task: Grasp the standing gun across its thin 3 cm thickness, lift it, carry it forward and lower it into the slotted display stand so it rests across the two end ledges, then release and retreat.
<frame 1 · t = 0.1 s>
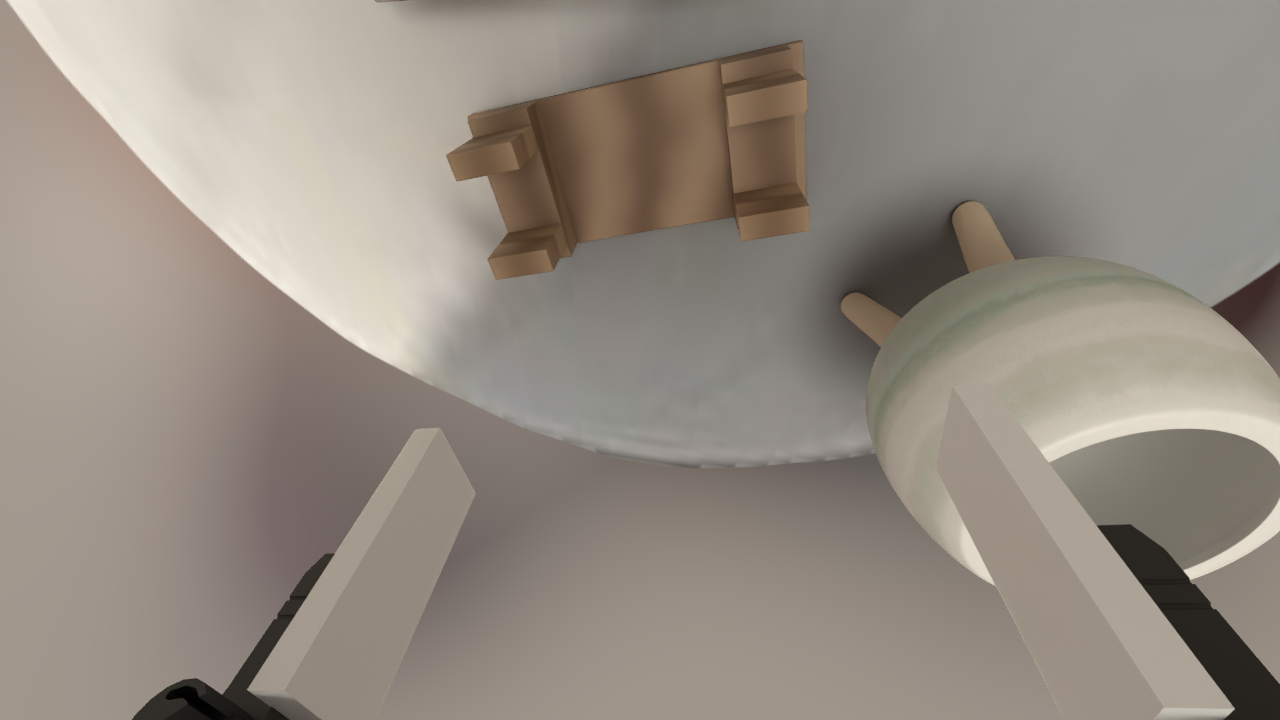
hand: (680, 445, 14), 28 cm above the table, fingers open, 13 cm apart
planter: (925, 279, 40), on the table
display stand: (641, 157, 36), on the table
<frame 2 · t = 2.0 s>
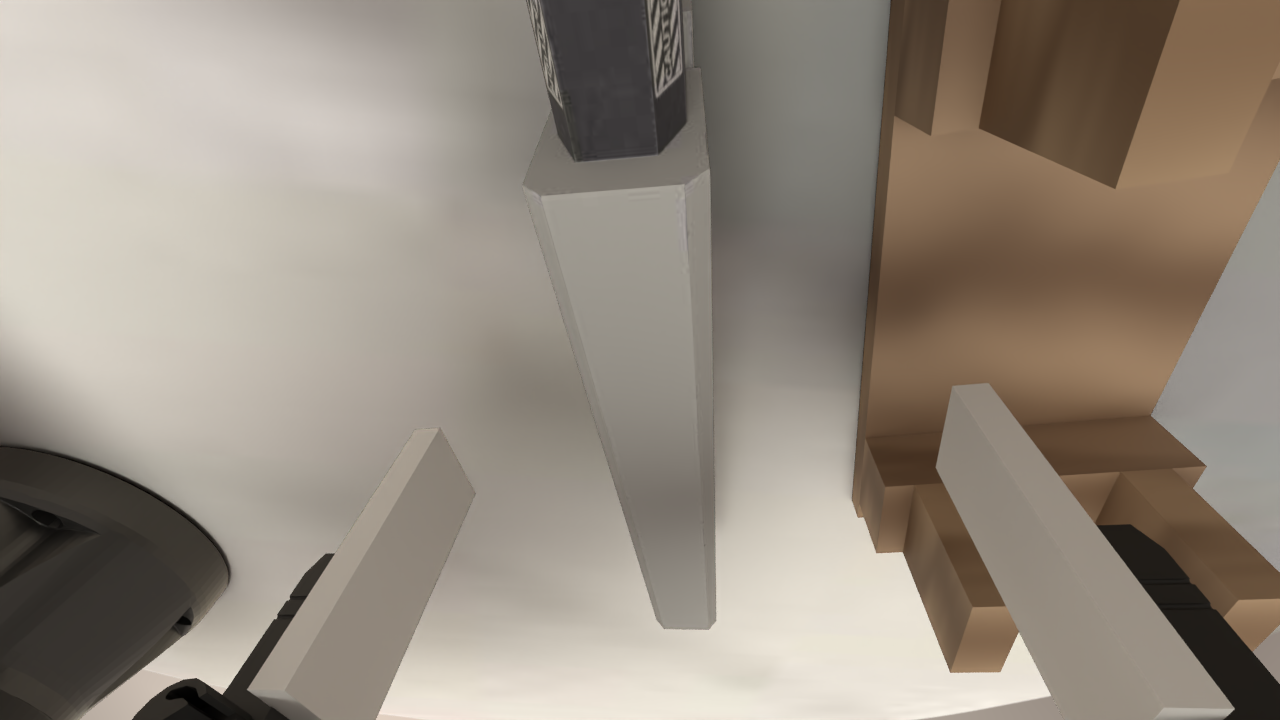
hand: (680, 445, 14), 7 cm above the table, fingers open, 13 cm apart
gun: (670, 314, 19), on the table
display stand: (1025, 275, 17), on the table
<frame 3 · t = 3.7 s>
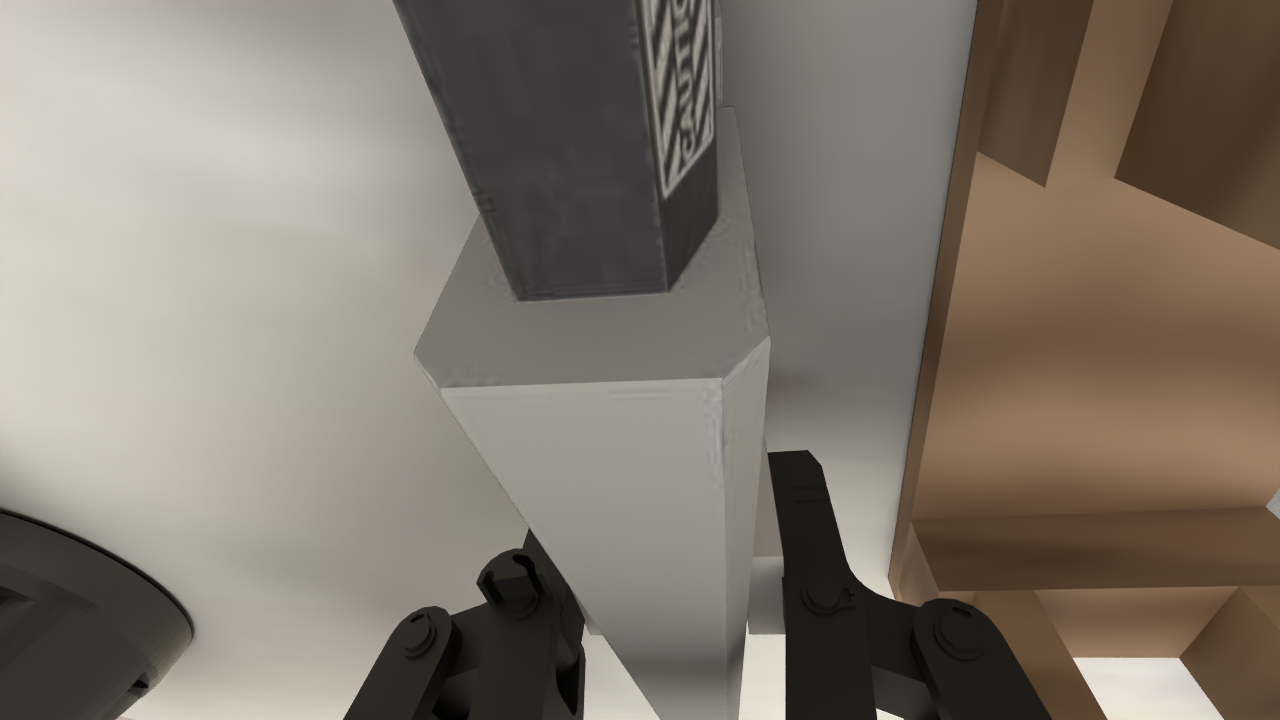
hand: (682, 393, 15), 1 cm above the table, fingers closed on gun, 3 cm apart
gun: (683, 378, 16), on the table, touching gripper
display stand: (1121, 341, 14), on the table
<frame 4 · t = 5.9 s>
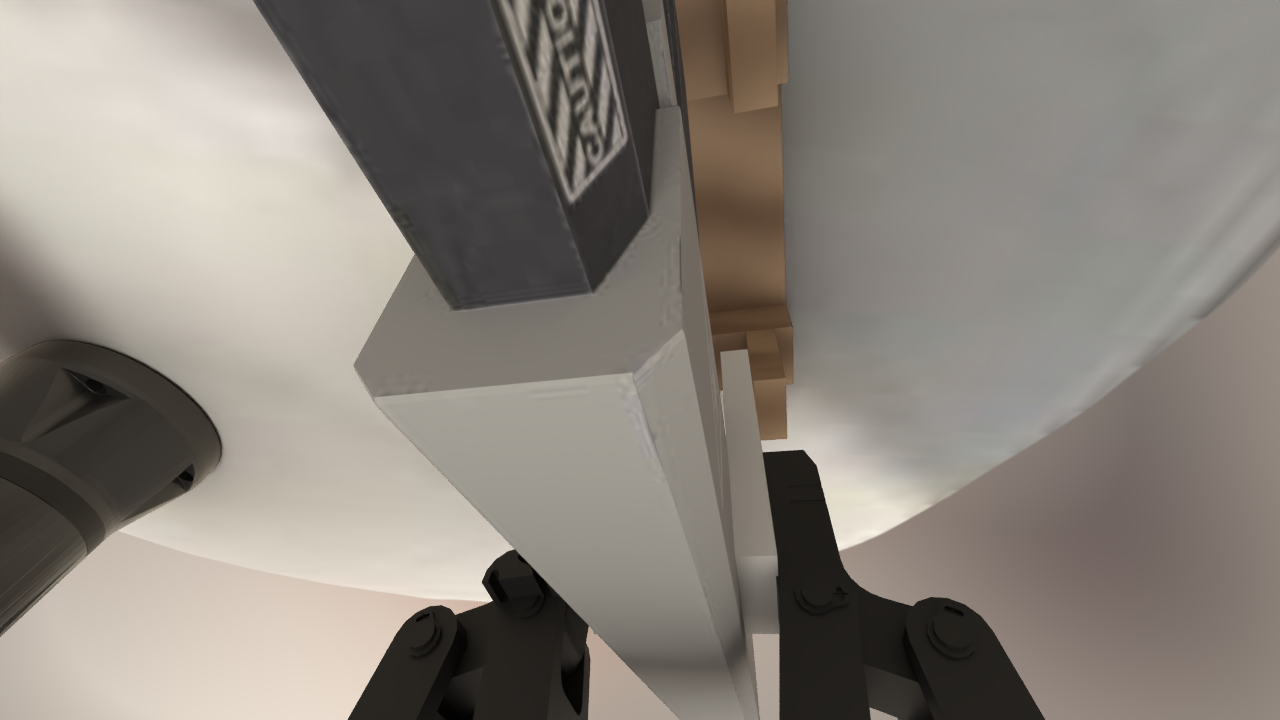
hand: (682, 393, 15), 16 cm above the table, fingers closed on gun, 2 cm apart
gun: (683, 377, 16), point 15 cm above the table, touching gripper
display stand: (688, 211, 28), on the table
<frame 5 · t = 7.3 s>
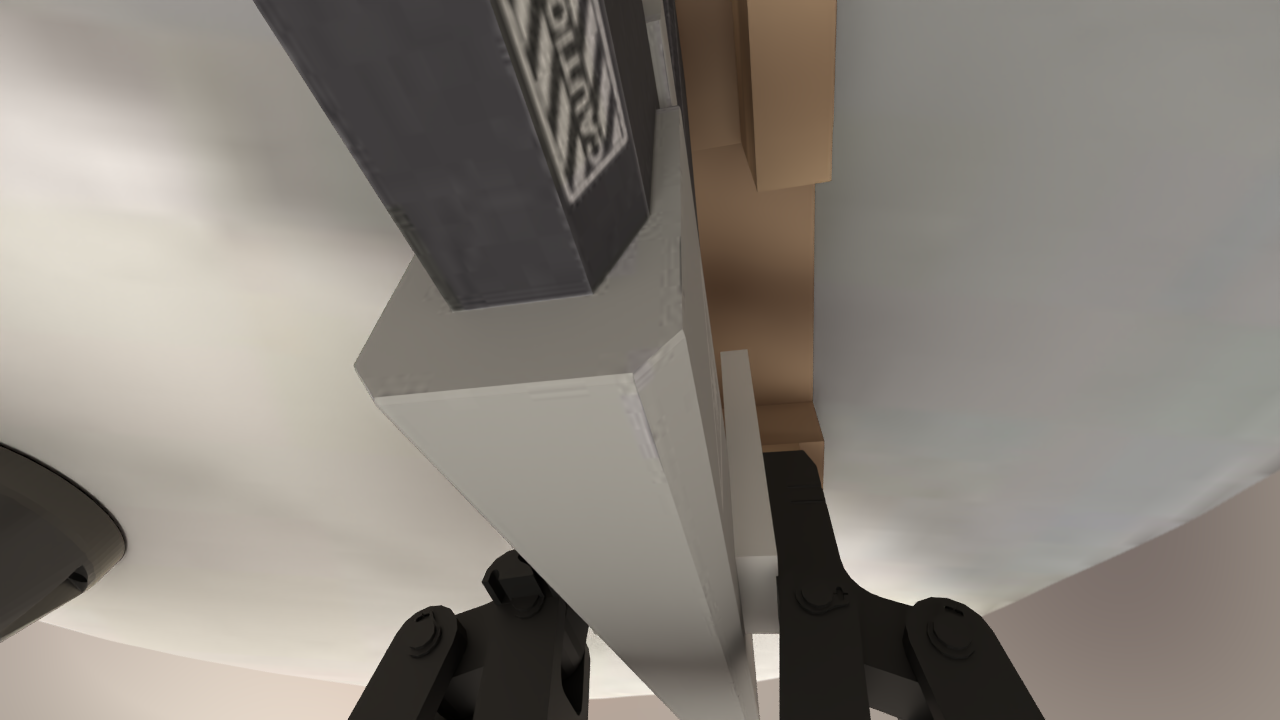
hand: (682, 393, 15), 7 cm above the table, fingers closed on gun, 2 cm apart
gun: (683, 377, 16), point 6 cm above the table, touching gripper
display stand: (683, 285, 21), on the table
when the fingers open (5 cm above the table, at t = 8.2 s): gun drops 1 cm, resting on display stand.
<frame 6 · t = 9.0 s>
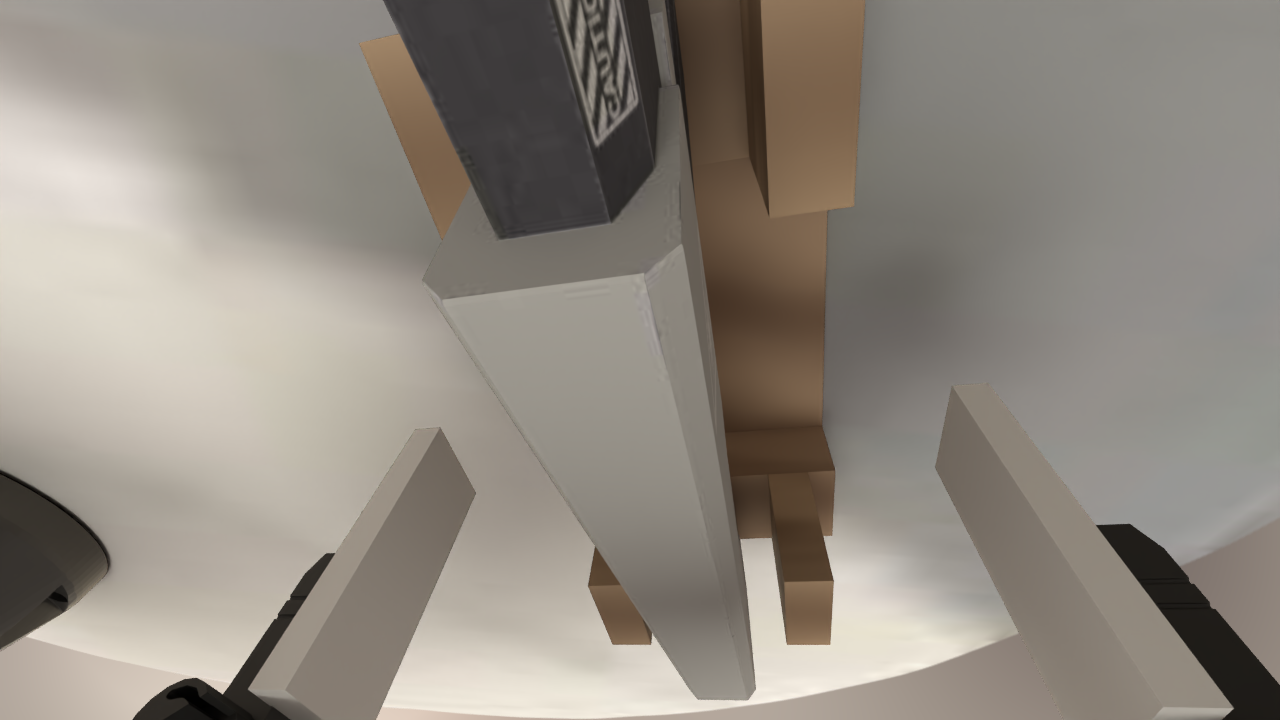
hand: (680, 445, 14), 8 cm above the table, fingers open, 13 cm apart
gun: (682, 352, 17), point 3 cm above the table, touching display stand
display stand: (685, 303, 20), on the table
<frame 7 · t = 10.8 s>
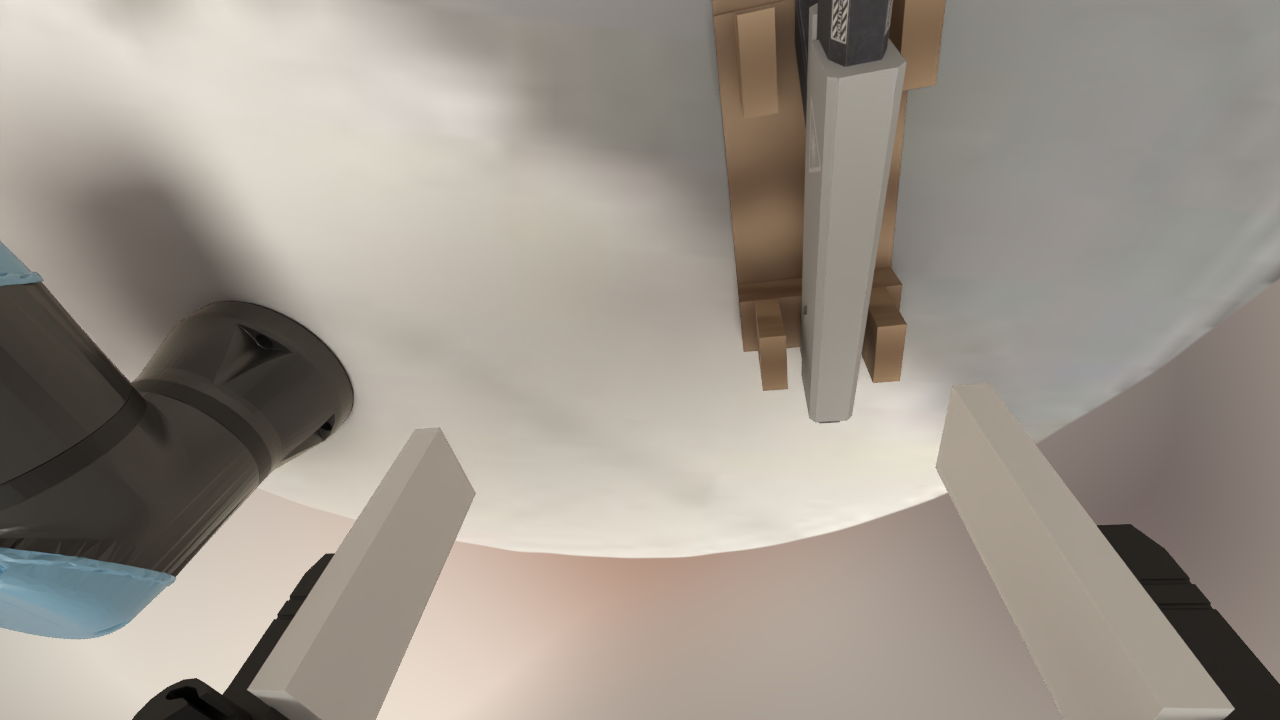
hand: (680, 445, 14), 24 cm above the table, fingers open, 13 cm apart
gun: (817, 201, 30), point 3 cm above the table, touching display stand
display stand: (809, 183, 32), on the table
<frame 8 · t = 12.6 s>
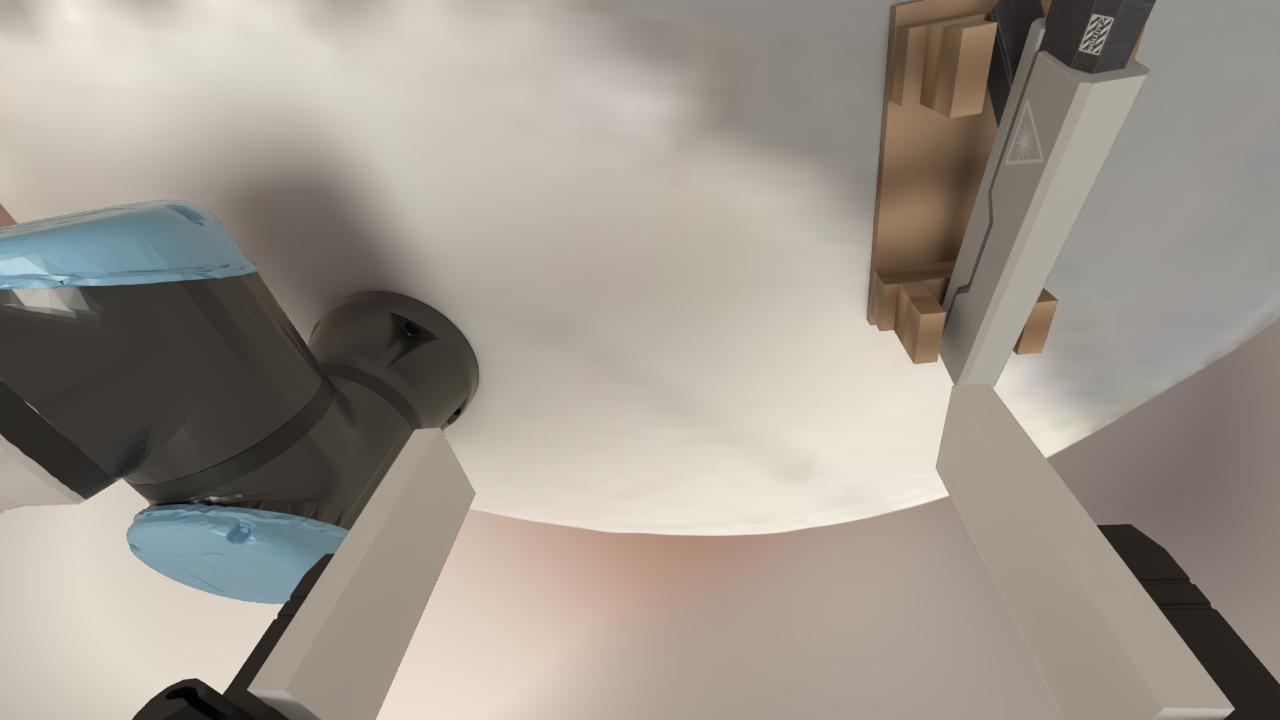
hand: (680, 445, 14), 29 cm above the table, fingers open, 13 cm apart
gun: (972, 192, 33), point 3 cm above the table, touching display stand
display stand: (952, 177, 36), on the table
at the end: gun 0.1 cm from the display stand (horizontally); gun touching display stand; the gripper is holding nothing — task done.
